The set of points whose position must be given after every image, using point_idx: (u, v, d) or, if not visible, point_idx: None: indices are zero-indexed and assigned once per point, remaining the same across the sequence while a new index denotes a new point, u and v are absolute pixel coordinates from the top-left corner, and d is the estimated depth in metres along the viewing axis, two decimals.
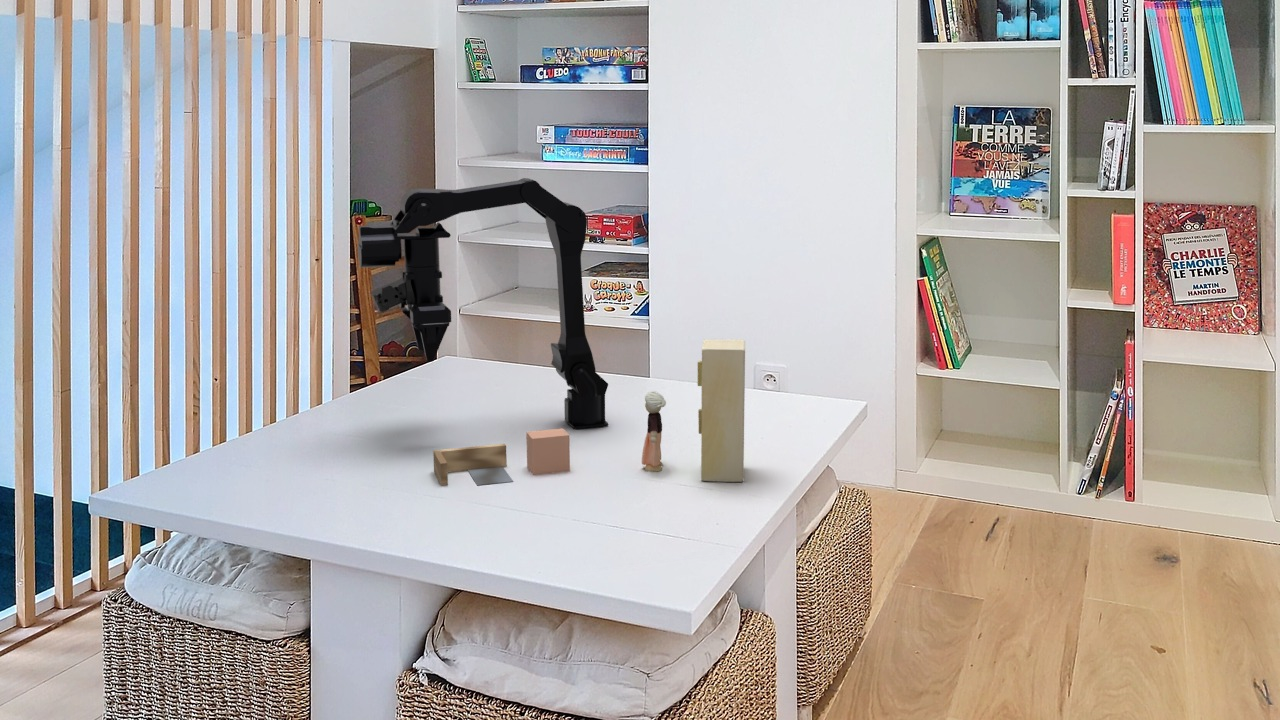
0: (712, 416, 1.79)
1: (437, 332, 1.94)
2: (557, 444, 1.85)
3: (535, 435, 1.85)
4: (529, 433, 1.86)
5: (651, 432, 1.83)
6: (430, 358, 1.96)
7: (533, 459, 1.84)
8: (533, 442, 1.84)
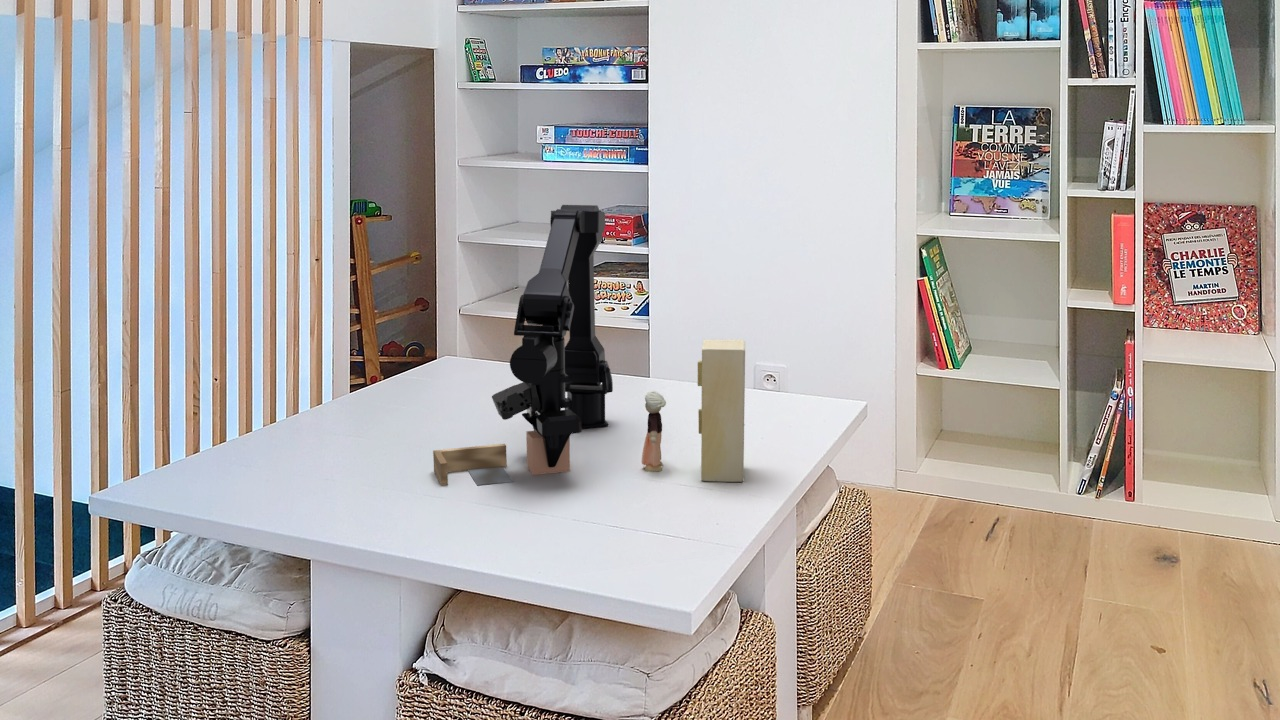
0: (712, 416, 1.79)
1: (560, 437, 1.83)
2: None
3: (535, 434, 1.85)
4: (529, 433, 1.86)
5: (651, 432, 1.83)
6: (552, 464, 1.85)
7: (533, 458, 1.84)
8: (533, 441, 1.84)
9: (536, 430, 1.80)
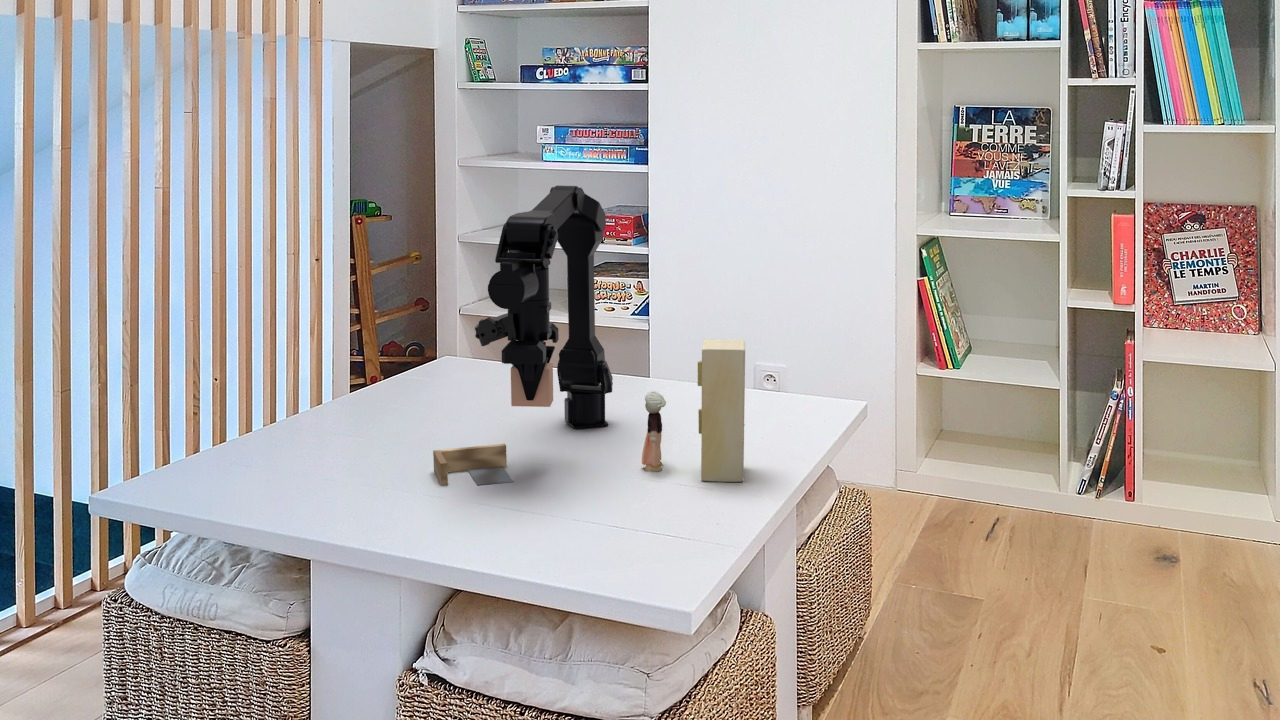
0: (712, 416, 1.79)
1: (535, 369, 1.79)
2: None
3: None
4: None
5: (651, 432, 1.83)
6: (530, 397, 1.81)
7: (512, 389, 1.82)
8: (511, 372, 1.81)
9: None
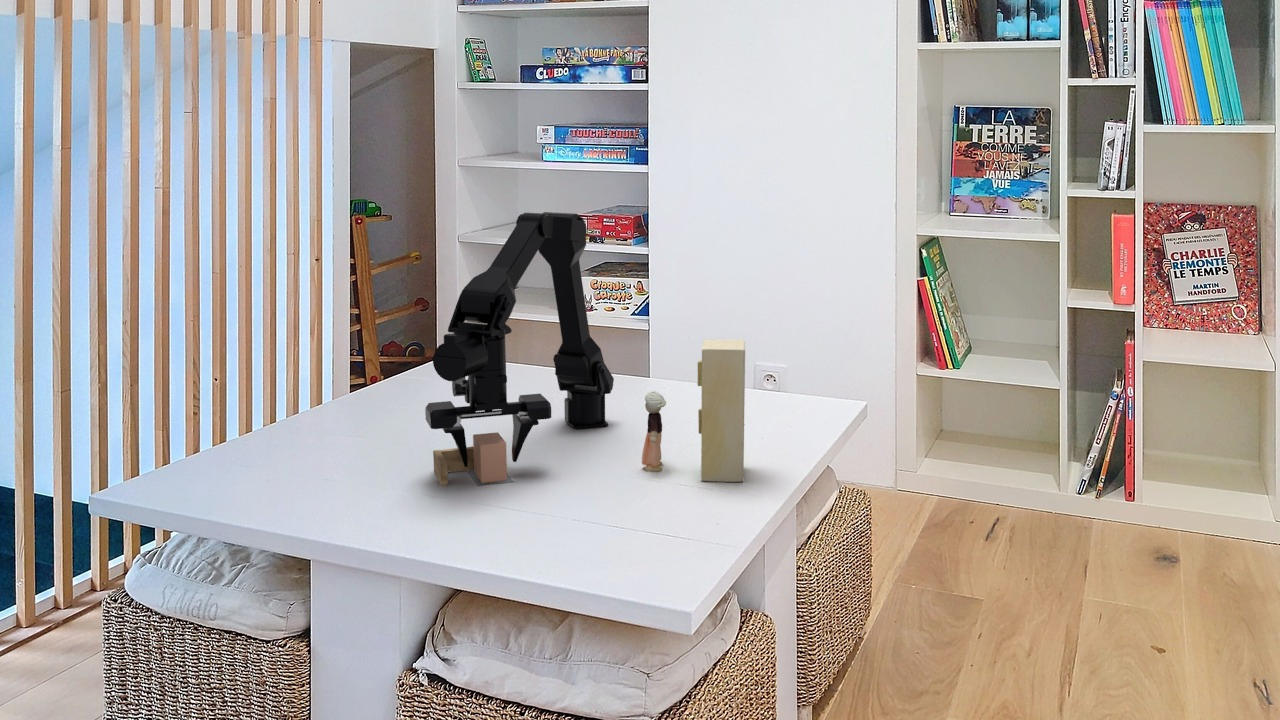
0: (712, 416, 1.79)
1: None
2: (478, 450, 1.81)
3: (485, 435, 1.85)
4: (491, 433, 1.86)
5: (651, 432, 1.83)
6: None
7: (474, 455, 1.85)
8: (473, 438, 1.85)
9: None
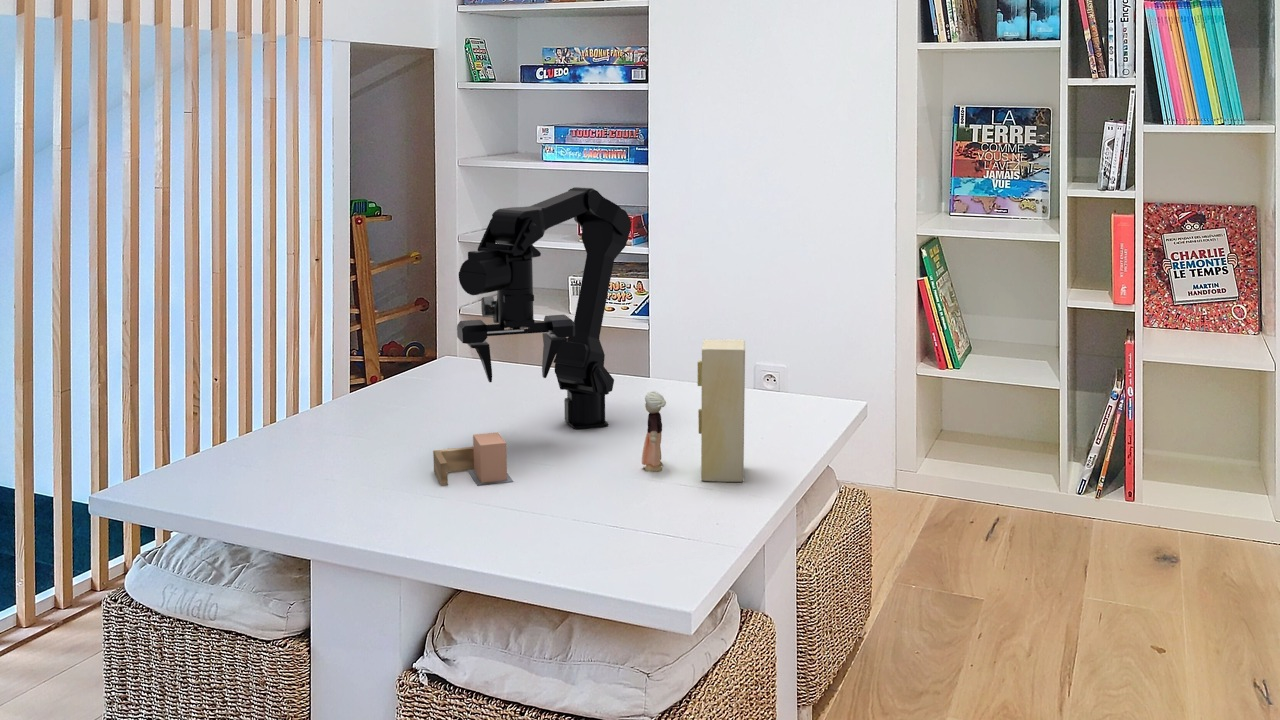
0: (712, 416, 1.79)
1: None
2: (478, 450, 1.81)
3: (485, 435, 1.85)
4: (491, 433, 1.86)
5: (651, 432, 1.83)
6: (489, 379, 1.94)
7: (474, 455, 1.85)
8: (473, 438, 1.85)
9: None
